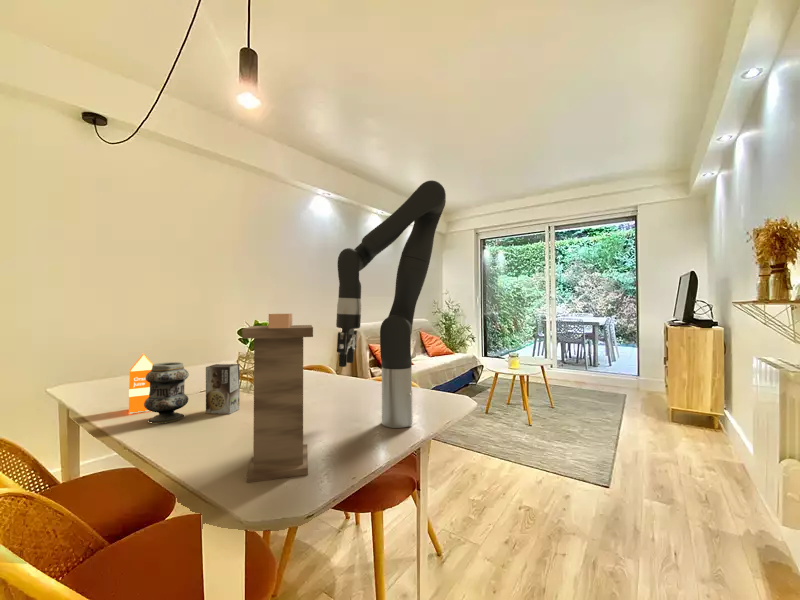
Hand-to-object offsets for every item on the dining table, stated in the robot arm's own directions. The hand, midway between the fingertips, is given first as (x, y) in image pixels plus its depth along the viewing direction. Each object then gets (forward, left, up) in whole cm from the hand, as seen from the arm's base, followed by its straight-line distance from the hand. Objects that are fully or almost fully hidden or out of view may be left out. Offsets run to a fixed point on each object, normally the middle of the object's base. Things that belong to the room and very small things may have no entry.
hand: (346, 364), depth 111 cm
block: (+10, +26, +13) cm, 31 cm away
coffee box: (+46, -9, -18) cm, 50 cm away
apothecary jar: (+59, +1, -18) cm, 62 cm away
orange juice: (+76, -9, -18) cm, 79 cm away
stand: (+8, +31, -18) cm, 36 cm away
